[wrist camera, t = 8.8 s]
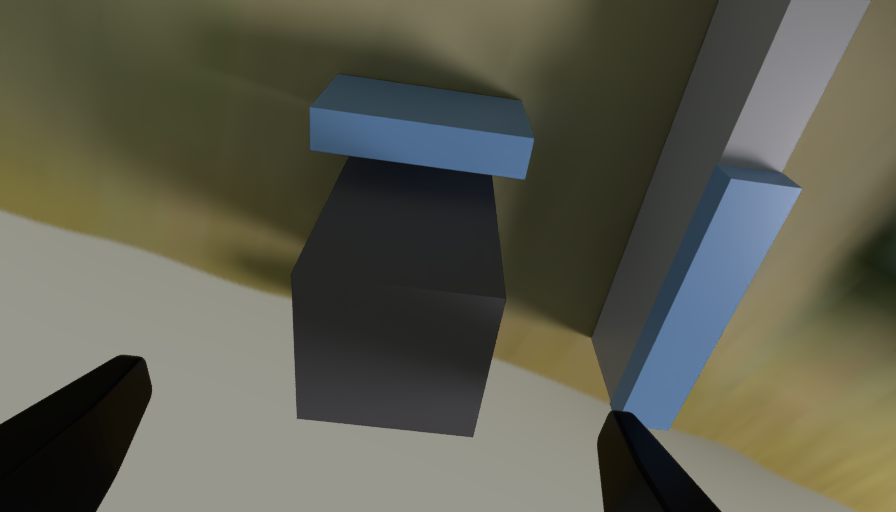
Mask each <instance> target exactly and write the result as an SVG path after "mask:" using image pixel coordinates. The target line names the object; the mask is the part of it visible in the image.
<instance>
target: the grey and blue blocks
mask: <svg viewBox="0 0 896 512" xmlns="http://www.w3.org/2000/svg"><path fill="white" fill-rule="evenodd" d="M870 2H871V0H719V2H718V4H717V7H716V10H715V12H714V15H713V18H712V20H711V23H710V26H709V28H708V31H707V34H706V36H705V39H704V41H703V44H702V47H701V49H700V52H699V55H698V57H697V60H696V63H695V65H694V68H693V71H692V73H691V76H690V79H689V81H688V84H687V87H686V89H685V92H684V94H683V97H682V100H681V102H680V105H679V108H678V110H677V113H676V116H675V118H674V121H673V124H672V126H671V129H670V132H669V134H668V137H667V139H666V142H665V145H664V147H663V150H662V153H661V155H660V158H659V161H658V163H657V166H656V169H655V171H654V174H653V177H652V179H651V182H650V185H649V187H648V190H647V192H646V195H645V198H644V200H643V203H642V206H641V208H640V211H639V214H638V216H637V219H636V222H635V224H634V227H633V230H632V232H631V235H630V238H629V240H628V243H627V245H626V248H625V251H624V253H623V256H622V259H621V261H620V264H619V267H618V269H617V272H616V275H615V277H614V280H613V283H612V285H611V288H610V291H609V293H608V296H607V298H606V301H605V304H604V306H603V309H602V312H601V314H600V317H599V320H598V322H597V325H596V328H595V330H594V333H593V336H592V338H591V340H592V343H593V346H594V349H595V353H596V356H597V359H598V362H599V365H600V369H601V372H602V375H603V378H604V382H605V385H606V388H607V391H608V395H609V398H610V401H611V402H610V406H611V409H612V410H619V411H628V412H631V413H633V414H634V415H635V416H636V417H637V418H638V419H639V420H640V421H641V422H642V423H643V425H644V426H645V427H646V428H651V429H660V430H669V429H670V427H671V425H672V423H673V421H674V420H675V418H676V416H677V414H678V412H679V410H680V409H681V407H682V405H683V403H684V401H685V400H686V398H687V396H688V394H689V392H690V391H691V389H692V387H693V385H694V383H695V382H696V380H697V378H698V376H699V374H700V373H701V371H702V369H703V367H704V365H705V364H706V362H707V360H708V358H709V356H710V355H711V353H712V351H713V349H714V347H715V346H716V344H717V342H718V340H719V338H720V337H721V335H722V333H723V331H724V329H725V328H726V326H727V324H728V322H729V320H730V319H731V317H732V315H733V313H734V311H735V309H736V308H737V306H738V304H739V302H740V300H741V299H742V297H743V295H744V293H745V291H746V290H747V288H748V286H749V284H750V282H751V281H752V279H753V277H754V275H755V273H756V272H757V270H758V268H759V266H760V264H761V263H762V261H763V259H764V257H765V255H766V254H767V252H768V250H769V248H770V246H771V245H772V243H773V241H774V239H775V237H776V236H777V234H778V232H779V230H780V228H781V227H782V225H783V223H784V221H785V219H786V218H787V216H788V214H789V212H790V210H791V208H792V207H793V205H794V203H795V201H796V199H797V198H798V196H799V194H800V192H801V190H802V188H801V187H800V186H799V185H797V184H796V183H795V182H793V181H792V180H791V179H789V178H788V177H787V176H786V175H784V174H782V171H783V169H784V167H785V165H786V163H787V161H788V159H789V157H790V155H791V153H792V152H793V150H794V148H795V146H796V144H797V142H798V140H799V138H800V136H801V134H802V132H803V130H804V129H805V127H806V125H807V123H808V121H809V119H810V117H811V115H812V113H813V111H814V109H815V107H816V105H817V104H818V102H819V100H820V98H821V96H822V94H823V92H824V90H825V88H826V86H827V84H828V82H829V81H830V79H831V77H832V75H833V73H834V71H835V69H836V67H837V65H838V63H839V61H840V59H841V57H842V56H843V54H844V52H845V50H846V48H847V46H848V44H849V42H850V40H851V38H852V36H853V34H854V33H855V31H856V29H857V27H858V25H859V23H860V21H861V19H862V17H863V15H864V13H865V11H866V9H867V8H868V6H869V4H870ZM533 143H534V136H533V133H532V130H531V127H530V124H529V121H528V118H527V115H526V112H525V109H524V106H523V103H522V101H521V100H514V99H507V98H501V97H494V96H487V95H480V94H473V93H466V92H459V91H452V90H445V89H438V88H431V87H424V86H417V85H410V84H403V83H397V82H390V81H383V80H376V79H369V78H362V77H355V76H348V75H341V74H337V76H336V77H335V78H334V79H333V80H332V81H331V83H330V84H329V85H328V86H327V87H326V89H325V90H324V91H323V92H322V93H321V94H320V96H319V97H318V98H317V99H316V100H315V101H314V103H313V104H312V105H311V106H310V150H312V151H319V152H326V153H334V154H341V155H348V156H356V157H363V158H370V159H378V160H385V161H392V162H400V163H407V164H414V165H422V166H429V167H436V168H444V169H451V170H458V171H466V172H473V173H480V174H488V175H495V176H502V177H510V178H517V179H524V180H525V177H526V173H527V169H528V165H529V160H530V156H531V152H532V148H533Z"/></svg>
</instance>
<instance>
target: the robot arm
mask: <svg viewBox="0 0 896 512" xmlns="http://www.w3.org/2000/svg"><path fill="white" fill-rule="evenodd" d="M151 394H152V385H151V381H150V376H149V372H148V368H147V364H146V361H145V360H144V358H142V357H139V356H131V355H119V356H116V357H115V358H113V359H111V360H109V361H108V362H106V363H104V364H102V365H101V366H99V367H98V368H96V369H94V370H92V371H90V372H89V373H87V374H85V375H84V376H82V377H80V378H78V379H77V380H75V381H73V382H72V383H70V384H68V385H67V386H65V387H63V388H61V389H60V390H58V391H56V392H55V393H53V394H51V395H49V396H48V397H46V398H44V399H43V400H41V401H39V402H38V403H36V404H34V405H32V406H31V407H29V408H27V409H25V410H24V411H22V412H21V413H19V414H17V415H15V416H14V417H12V418H10V419H9V420H7V421H5V422H3V423H2V424H0V512H96V511H97V509H98V507H99V506H100V504H101V502H102V500H103V499H104V497H105V495H106V493H107V492H108V490H109V488H110V486H111V484H112V482H113V481H114V479H115V477H116V475H117V473H118V471H119V469H120V467H121V464H122V462H123V460H124V458H125V456H126V453H127V451H128V449H129V446H130V444H131V442H132V440H133V437H134V435H135V433H136V430H137V428H138V426H139V424H140V421H141V419H142V417H143V415H144V412H145V410H146V408H147V405H148V403H149V401H150V398H151ZM597 450H598V458H599V459H598V460H599V469H600V478H601V488H602V497H603V506H604V512H721V511H720V510H719V508H718V507H717V506H716V505H715V504H714V503H713V502H712V501H711V499H710V498H709V497H708V496H707V495H706V494H705V493H704V492H703V491H702V489H701V488H700V487H699V486H698V485H697V484H696V483H695V482H694V480H693V479H692V478H691V477H690V476H689V475H688V474H687V473H686V472H685V471H684V469H683V468H682V467H681V466H680V465H679V464H678V463H677V462H676V461H675V459H674V458H673V457H672V456H671V455H670V454H669V453H668V451H667V450H666V449H665V448H664V447H663V446H662V445H661V444H660V442H659V441H658V440H657V439H656V438H655V437H654V436H653V435H652V434H651V432H650V431H649V430H648V429H647V428H646V427H645V426H644V425H643V423H642V422H641V421H640V420H639V419H638V418H637V417H636V416H635V415H634V414H633V413H631V412H628V411H619V410H612V411H610V413H609V414H608V416H607V418H606V420H605V423H604V425H603V427H602V429H601V432H600V434H599V436H598V441H597Z"/></svg>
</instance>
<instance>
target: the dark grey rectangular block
mask: <svg viewBox="0 0 896 512" xmlns="http://www.w3.org/2000/svg"><path fill="white" fill-rule="evenodd" d="M291 283H292V307H293V331H294V357H295V379H296V380H295V381H296V406H297V419H306V420H316V421H326V422H335V423H344V424H353V425H362V426H372V427H381V428H391V429H400V430H411V431H419V432H429V433H438V434H447V435H456V436H466V437H473V435H474V431H475V427H476V422H477V419H478V414H479V410H480V406H481V402H482V398H483V393H484V389H485V385H486V381H487V377H488V373H489V368H490V364H491V360H492V356H493V352H494V348H495V344H496V339H497V335H498V331H499V327H500V323H501V319H502V314H503V310H504V306H505V302H506V293H505V284H504V276H503V267H502V258H501V250H500V241H499V232H498V224H497V215H496V206H495V197H494V189H493V180H492V175H488V174H480V173H473V172H466V171H458V170H451V169H444V168H436V167H429V166H422V165H414V164H407V163H400V162H392V161H385V160H378V159H370V158H363V157H356V156H349V158H348V160H347V162H346V164H345V166H344V168H343V170H342V172H341V174H340V176H339V178H338V180H337V182H336V184H335V186H334V188H333V190H332V192H331V194H330V196H329V198H328V200H327V202H326V204H325V206H324V208H323V210H322V212H321V214H320V216H319V218H318V220H317V222H316V224H315V226H314V228H313V230H312V232H311V234H310V236H309V238H308V240H307V242H306V244H305V246H304V248H303V250H302V252H301V254H300V256H299V258H298V260H297V262H296V264H295V266H294V268H293V270H292V272H291Z"/></svg>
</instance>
